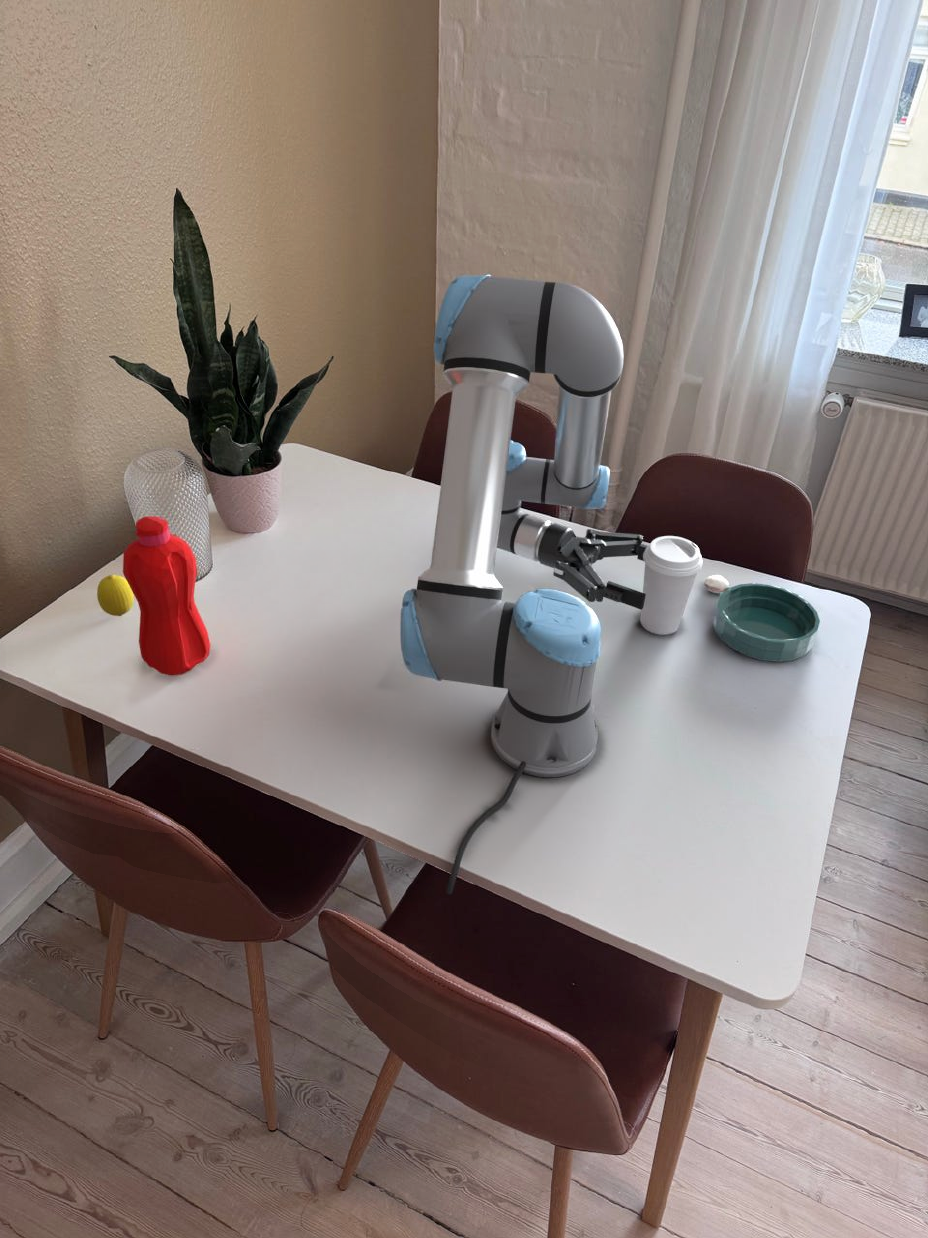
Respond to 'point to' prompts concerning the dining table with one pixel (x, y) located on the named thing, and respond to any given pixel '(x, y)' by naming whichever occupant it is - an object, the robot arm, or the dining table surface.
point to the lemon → (115, 595)
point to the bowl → (766, 622)
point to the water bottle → (165, 598)
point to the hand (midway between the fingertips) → (659, 582)
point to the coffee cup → (668, 582)
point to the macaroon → (716, 584)
